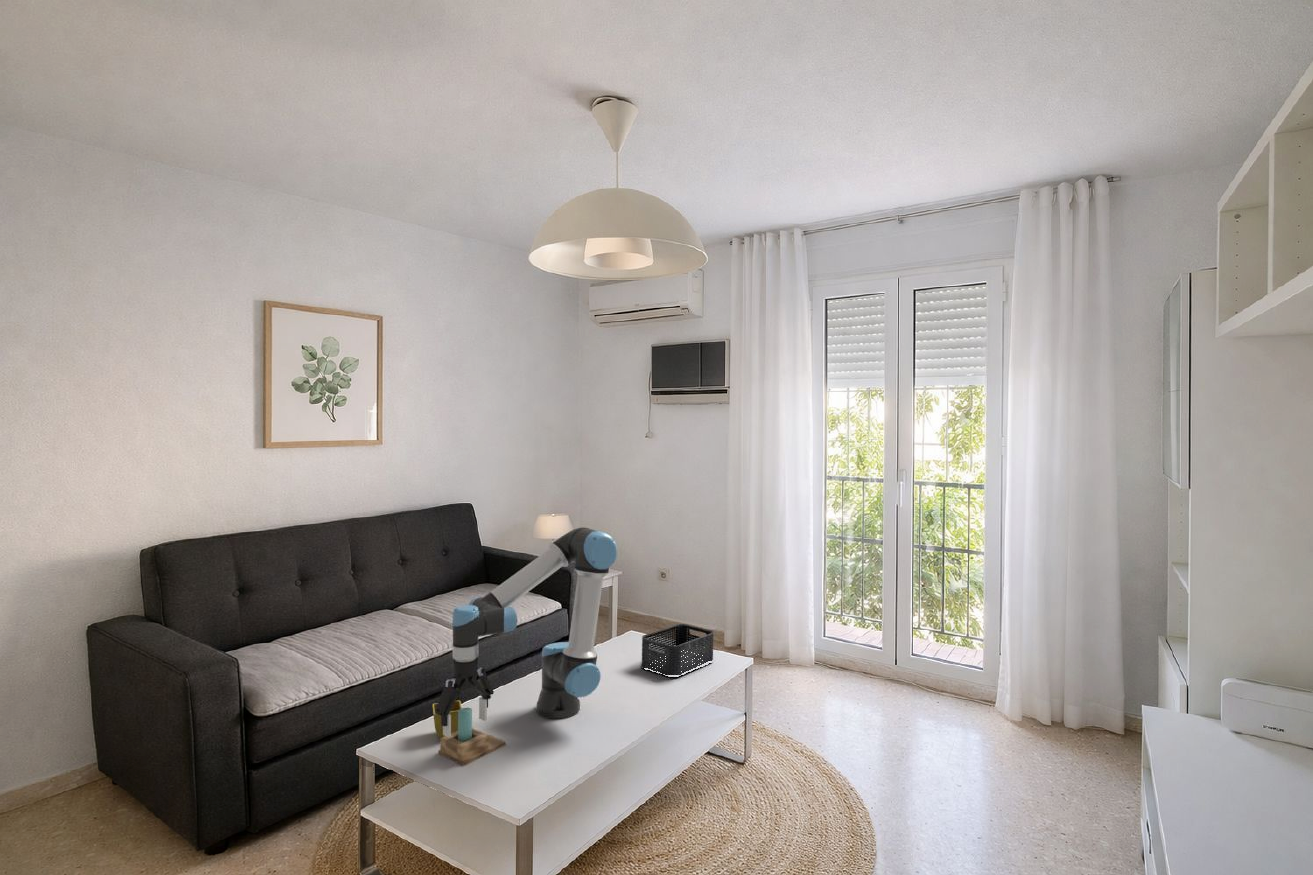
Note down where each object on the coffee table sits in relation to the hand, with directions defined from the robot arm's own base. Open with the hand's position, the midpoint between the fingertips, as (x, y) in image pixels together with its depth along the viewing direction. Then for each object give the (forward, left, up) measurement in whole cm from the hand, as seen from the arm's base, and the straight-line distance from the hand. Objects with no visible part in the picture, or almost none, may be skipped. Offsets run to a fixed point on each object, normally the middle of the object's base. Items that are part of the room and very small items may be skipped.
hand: (465, 727), depth 208 cm
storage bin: (-103, +10, -8) cm, 103 cm away
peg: (0, 0, -7) cm, 7 cm away
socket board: (-3, 0, -8) cm, 8 cm away
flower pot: (-5, -15, -8) cm, 17 cm away
